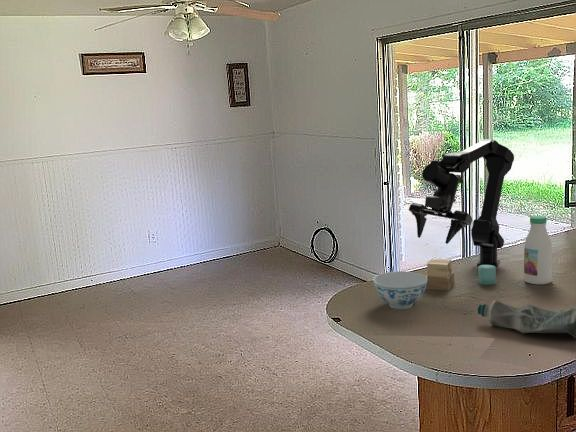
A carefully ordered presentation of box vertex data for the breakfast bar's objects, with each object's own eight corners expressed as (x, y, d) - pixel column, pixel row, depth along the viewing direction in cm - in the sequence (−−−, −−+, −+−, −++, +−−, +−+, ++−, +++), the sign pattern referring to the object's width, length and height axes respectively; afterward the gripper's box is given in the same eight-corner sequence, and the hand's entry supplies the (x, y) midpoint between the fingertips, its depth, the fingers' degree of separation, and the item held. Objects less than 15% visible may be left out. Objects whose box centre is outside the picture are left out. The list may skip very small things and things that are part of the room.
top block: (432, 270, 190) (432, 258, 189) (451, 272, 187) (451, 259, 186) (427, 276, 185) (427, 263, 184) (447, 277, 182) (447, 264, 181)
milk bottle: (546, 277, 188) (547, 213, 184) (555, 284, 180) (556, 218, 177) (520, 278, 189) (521, 215, 185) (528, 285, 181) (528, 220, 177)
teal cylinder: (480, 279, 190) (479, 264, 189) (496, 280, 188) (496, 265, 187) (477, 284, 186) (476, 268, 185) (494, 285, 183) (494, 269, 182)
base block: (430, 282, 192) (429, 270, 191) (454, 284, 188) (454, 271, 187) (424, 289, 185) (423, 276, 184) (448, 291, 182) (448, 278, 181)
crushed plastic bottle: (590, 328, 147) (486, 311, 161) (591, 300, 145) (486, 286, 159) (581, 352, 137) (471, 332, 151) (582, 323, 135) (470, 305, 149)
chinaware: (428, 314, 163) (428, 287, 162) (372, 314, 166) (371, 287, 165) (427, 296, 178) (426, 271, 176) (375, 296, 181) (374, 271, 179)
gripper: (408, 179, 186) (394, 227, 185) (466, 188, 175) (452, 240, 173) (422, 191, 195) (408, 237, 193) (478, 200, 184) (464, 249, 182)
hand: (432, 240), depth 185 cm, fingers open, 9 cm apart
